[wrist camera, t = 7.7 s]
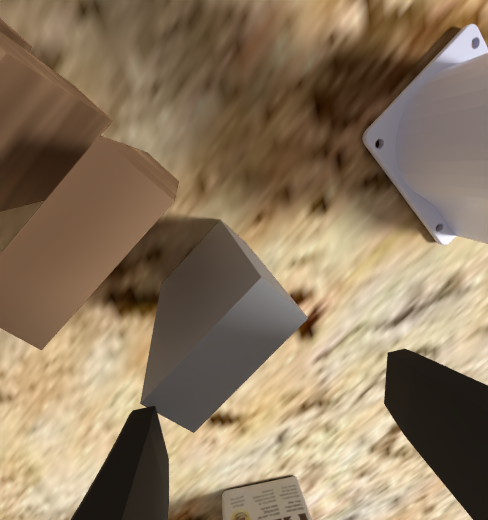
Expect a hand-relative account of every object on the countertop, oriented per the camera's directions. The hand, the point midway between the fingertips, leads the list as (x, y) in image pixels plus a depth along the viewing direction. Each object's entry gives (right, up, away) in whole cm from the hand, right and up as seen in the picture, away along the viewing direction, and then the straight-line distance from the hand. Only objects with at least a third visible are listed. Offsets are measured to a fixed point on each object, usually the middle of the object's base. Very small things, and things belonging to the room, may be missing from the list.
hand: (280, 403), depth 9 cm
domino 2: (-7, +7, +6) cm, 12 cm away
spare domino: (-3, +4, +8) cm, 10 cm away
